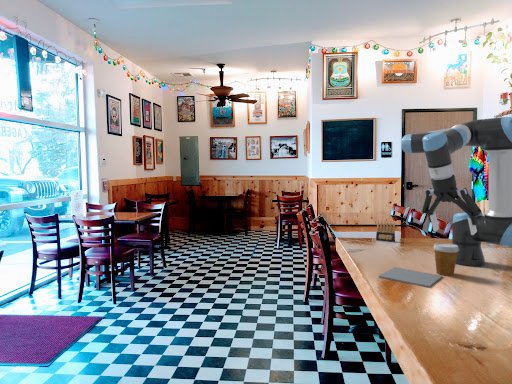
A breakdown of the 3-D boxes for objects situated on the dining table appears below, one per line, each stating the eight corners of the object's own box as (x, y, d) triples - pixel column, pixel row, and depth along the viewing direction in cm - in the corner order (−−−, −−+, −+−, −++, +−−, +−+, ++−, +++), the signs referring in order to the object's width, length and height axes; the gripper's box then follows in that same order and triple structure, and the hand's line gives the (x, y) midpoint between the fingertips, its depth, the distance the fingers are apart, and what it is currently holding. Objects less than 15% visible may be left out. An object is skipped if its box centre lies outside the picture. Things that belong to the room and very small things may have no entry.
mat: (394, 268, 161) (394, 267, 161) (442, 277, 148) (442, 275, 148) (378, 277, 148) (378, 275, 148) (429, 287, 135) (429, 285, 135)
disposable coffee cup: (454, 271, 156) (456, 243, 155) (460, 278, 147) (462, 248, 146) (430, 269, 159) (431, 242, 158) (434, 276, 150) (435, 246, 149)
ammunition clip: (395, 241, 218) (395, 221, 218) (394, 242, 217) (395, 221, 216) (376, 239, 223) (376, 220, 223) (375, 240, 222) (376, 220, 221)
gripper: (404, 181, 138) (417, 232, 142) (474, 178, 117) (486, 239, 122) (415, 174, 142) (427, 224, 146) (485, 170, 121) (496, 230, 126)
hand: (454, 231), depth 134 cm, fingers open, 13 cm apart
